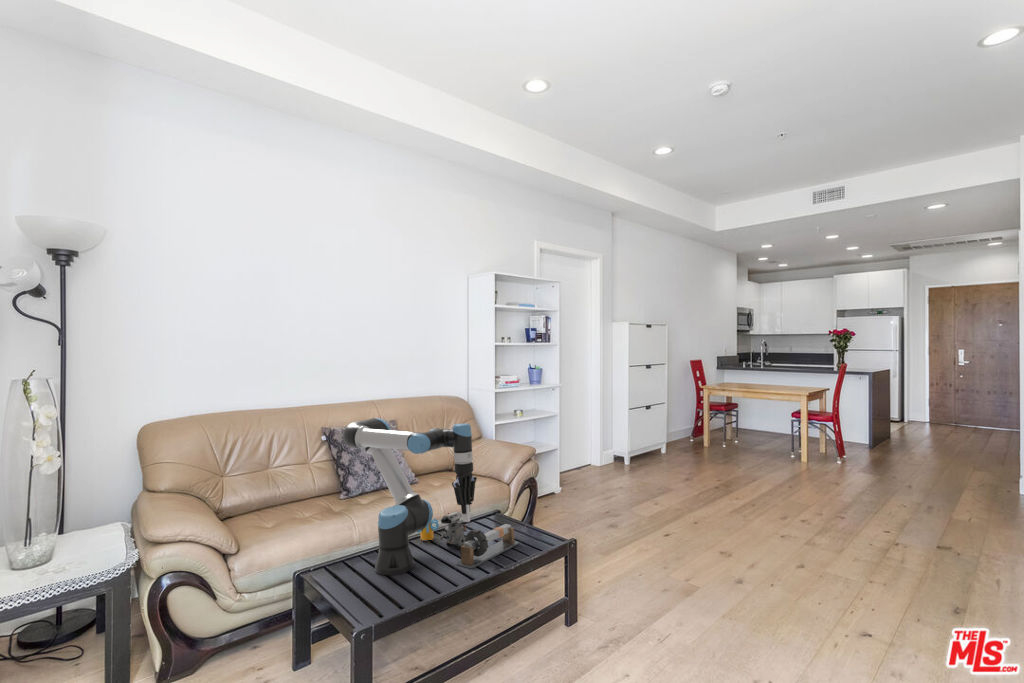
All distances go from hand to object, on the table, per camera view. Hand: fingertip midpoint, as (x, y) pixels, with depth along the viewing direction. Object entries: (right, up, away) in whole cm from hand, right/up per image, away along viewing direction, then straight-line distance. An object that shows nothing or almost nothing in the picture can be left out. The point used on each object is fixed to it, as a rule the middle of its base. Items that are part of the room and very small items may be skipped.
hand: (466, 521), depth 208 cm
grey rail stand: (+9, -18, +11) cm, 22 cm away
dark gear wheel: (+4, -15, +4) cm, 17 cm away
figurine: (-8, -19, +20) cm, 29 cm away
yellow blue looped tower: (-21, -20, +32) cm, 44 cm away
